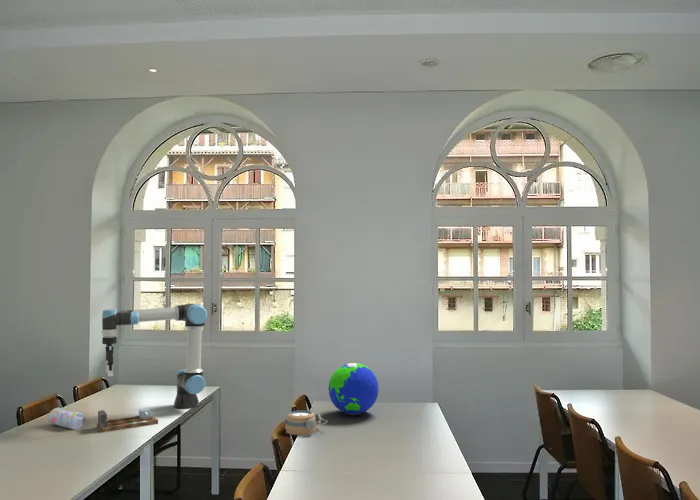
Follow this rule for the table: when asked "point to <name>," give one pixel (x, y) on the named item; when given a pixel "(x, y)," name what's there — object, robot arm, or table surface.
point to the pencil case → (66, 418)
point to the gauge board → (122, 422)
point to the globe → (353, 388)
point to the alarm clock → (302, 422)
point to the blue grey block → (144, 413)
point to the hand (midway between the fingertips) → (109, 374)
